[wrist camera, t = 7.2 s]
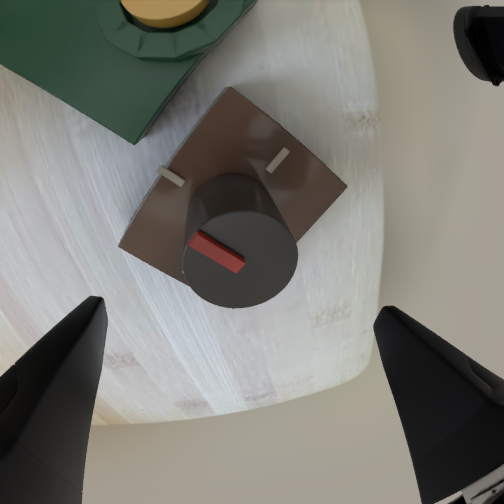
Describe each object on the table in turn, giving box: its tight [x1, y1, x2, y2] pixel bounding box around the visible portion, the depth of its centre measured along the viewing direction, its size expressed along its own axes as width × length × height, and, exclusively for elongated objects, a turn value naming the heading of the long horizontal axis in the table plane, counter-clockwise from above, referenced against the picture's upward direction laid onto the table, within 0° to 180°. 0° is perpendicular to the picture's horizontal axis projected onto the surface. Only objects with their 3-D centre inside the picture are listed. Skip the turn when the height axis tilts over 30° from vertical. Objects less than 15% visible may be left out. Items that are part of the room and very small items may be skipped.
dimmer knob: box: [182, 174, 298, 308], centre depth 13 cm, size 4×4×5 cm
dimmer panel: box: [118, 87, 347, 309], centre depth 16 cm, size 9×10×3 cm
